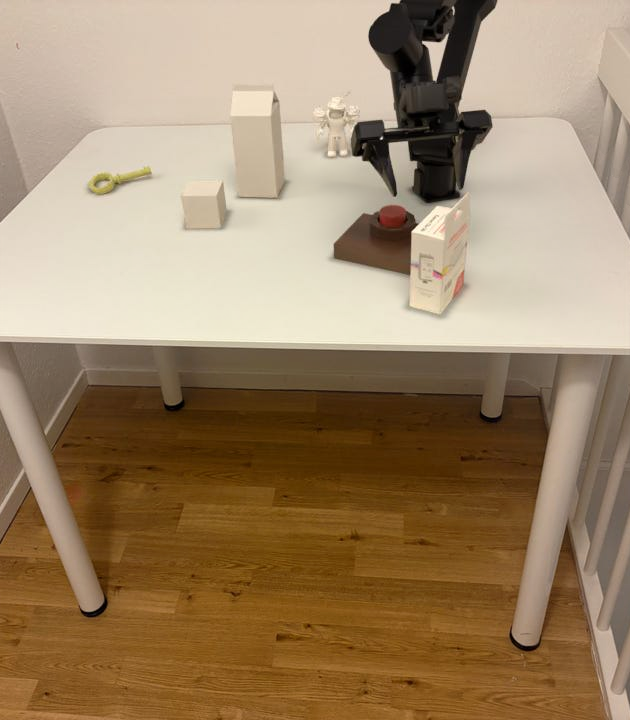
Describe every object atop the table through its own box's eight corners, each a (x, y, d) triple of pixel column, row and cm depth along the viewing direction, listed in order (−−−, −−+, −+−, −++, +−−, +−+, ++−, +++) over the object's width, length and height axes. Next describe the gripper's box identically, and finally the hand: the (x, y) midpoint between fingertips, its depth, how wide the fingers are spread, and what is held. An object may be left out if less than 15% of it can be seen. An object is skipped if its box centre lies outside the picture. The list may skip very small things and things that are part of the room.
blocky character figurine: (359, 148, 146) (359, 88, 138) (360, 156, 142) (360, 94, 135) (314, 151, 146) (311, 91, 139) (314, 159, 143) (312, 97, 136)
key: (156, 178, 140) (154, 167, 139) (96, 196, 135) (93, 186, 134) (141, 167, 145) (139, 156, 144) (83, 184, 140) (80, 174, 139)
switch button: (385, 213, 114) (385, 203, 113) (409, 217, 112) (409, 207, 111) (375, 224, 111) (375, 214, 110) (399, 229, 110) (400, 218, 108)
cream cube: (227, 212, 127) (223, 180, 123) (220, 228, 122) (216, 195, 119) (193, 212, 128) (188, 180, 124) (186, 228, 123) (180, 195, 119)
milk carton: (277, 198, 130) (268, 91, 118) (239, 197, 131) (226, 91, 120) (285, 182, 135) (277, 77, 124) (248, 181, 137) (237, 77, 125)
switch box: (363, 227, 119) (363, 202, 117) (438, 242, 114) (440, 216, 111) (333, 259, 112) (333, 233, 109) (413, 276, 106) (414, 249, 104)
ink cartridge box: (431, 277, 106) (438, 183, 97) (464, 285, 104) (473, 190, 95) (406, 306, 100) (411, 209, 91) (440, 316, 98) (448, 217, 89)
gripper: (353, 60, 93) (369, 176, 91) (496, 47, 94) (514, 162, 92) (344, 102, 104) (358, 206, 102) (472, 90, 105) (488, 193, 103)
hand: (428, 192), depth 99 cm, fingers open, 9 cm apart
